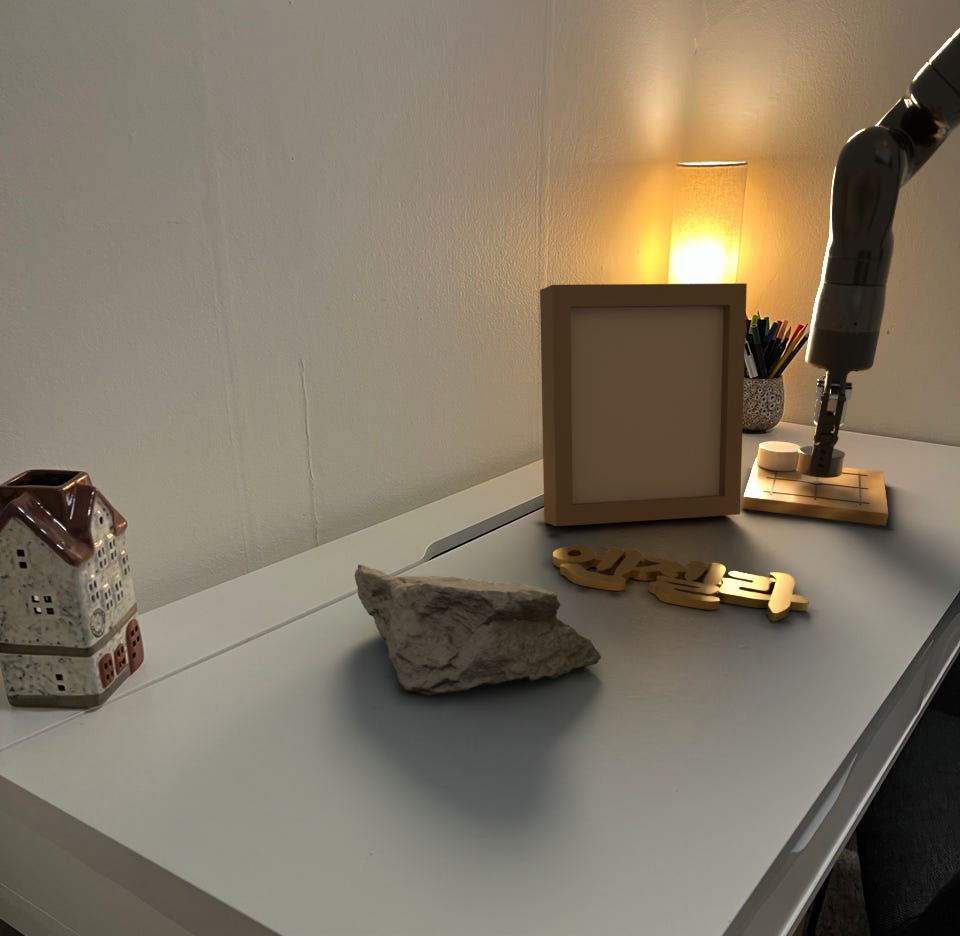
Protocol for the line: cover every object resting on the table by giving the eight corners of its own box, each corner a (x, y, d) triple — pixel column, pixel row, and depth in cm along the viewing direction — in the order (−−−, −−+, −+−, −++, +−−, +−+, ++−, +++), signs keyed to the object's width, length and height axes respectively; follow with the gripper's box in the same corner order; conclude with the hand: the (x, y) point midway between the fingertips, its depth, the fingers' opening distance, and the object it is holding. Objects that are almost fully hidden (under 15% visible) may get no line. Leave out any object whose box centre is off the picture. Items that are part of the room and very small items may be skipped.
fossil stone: (619, 653, 78) (616, 537, 73) (515, 744, 67) (504, 614, 62) (423, 610, 89) (410, 507, 84) (307, 681, 78) (285, 567, 74)
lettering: (534, 579, 92) (534, 570, 92) (566, 545, 100) (567, 537, 100) (803, 626, 84) (804, 617, 83) (813, 585, 92) (815, 576, 92)
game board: (881, 482, 124) (883, 470, 123) (885, 526, 109) (888, 512, 108) (754, 468, 128) (756, 457, 128) (741, 508, 113) (743, 495, 112)
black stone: (841, 468, 119) (845, 448, 118) (841, 480, 114) (845, 459, 113) (796, 463, 120) (799, 444, 119) (794, 475, 116) (797, 454, 115)
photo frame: (738, 522, 108) (773, 289, 97) (555, 534, 104) (569, 291, 93) (684, 484, 121) (708, 274, 110) (519, 493, 117) (527, 275, 105)
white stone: (800, 462, 126) (803, 443, 125) (798, 473, 121) (801, 454, 120) (758, 457, 127) (761, 439, 126) (754, 468, 123) (757, 449, 122)
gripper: (882, 335, 102) (851, 488, 110) (878, 318, 114) (851, 457, 122) (809, 330, 104) (784, 480, 112) (813, 314, 117) (790, 450, 124)
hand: (819, 467), depth 117 cm, fingers closed on black stone, 5 cm apart
